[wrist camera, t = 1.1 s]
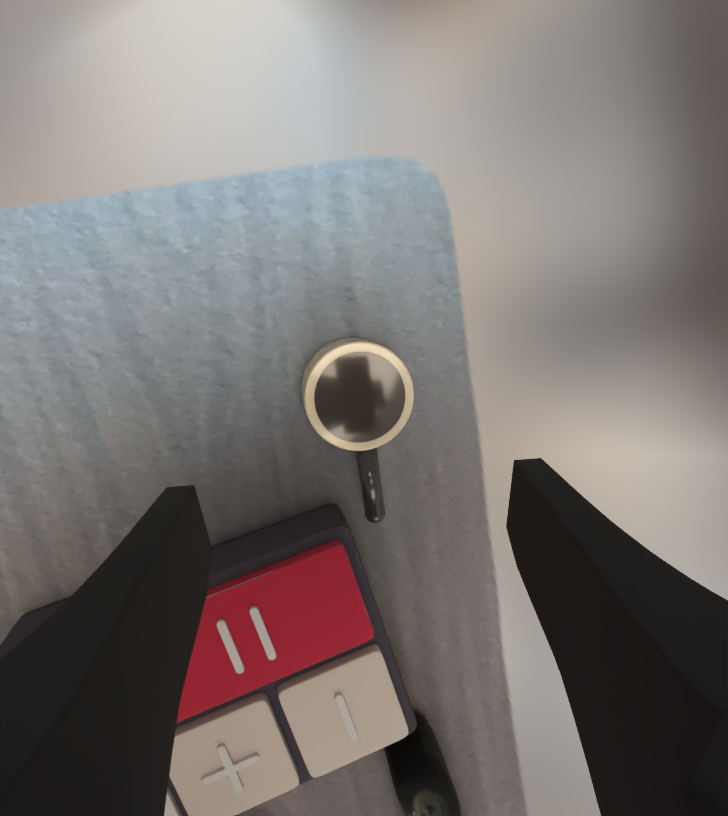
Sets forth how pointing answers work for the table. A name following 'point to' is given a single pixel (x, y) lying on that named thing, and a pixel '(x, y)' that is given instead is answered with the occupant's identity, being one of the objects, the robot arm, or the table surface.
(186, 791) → the calculator
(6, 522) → the table surface
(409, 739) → the mobile phone
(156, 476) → the table surface
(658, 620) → the robot arm
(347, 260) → the table surface
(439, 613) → the table surface
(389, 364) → the pan
